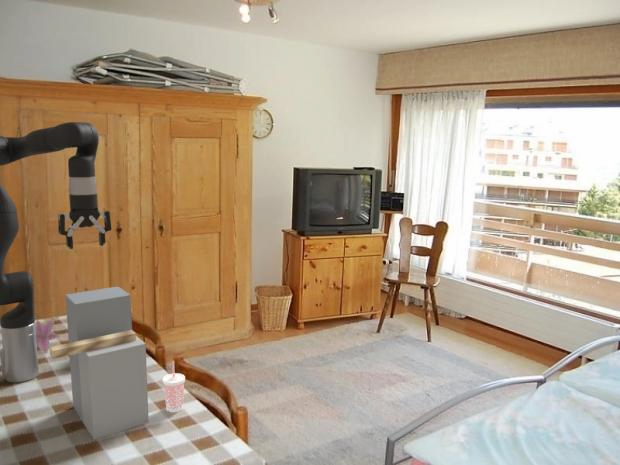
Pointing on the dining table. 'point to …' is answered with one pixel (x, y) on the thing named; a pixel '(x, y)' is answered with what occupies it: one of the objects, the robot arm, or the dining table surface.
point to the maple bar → (92, 344)
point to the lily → (44, 334)
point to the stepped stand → (106, 363)
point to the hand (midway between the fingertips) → (86, 247)
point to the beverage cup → (174, 391)
